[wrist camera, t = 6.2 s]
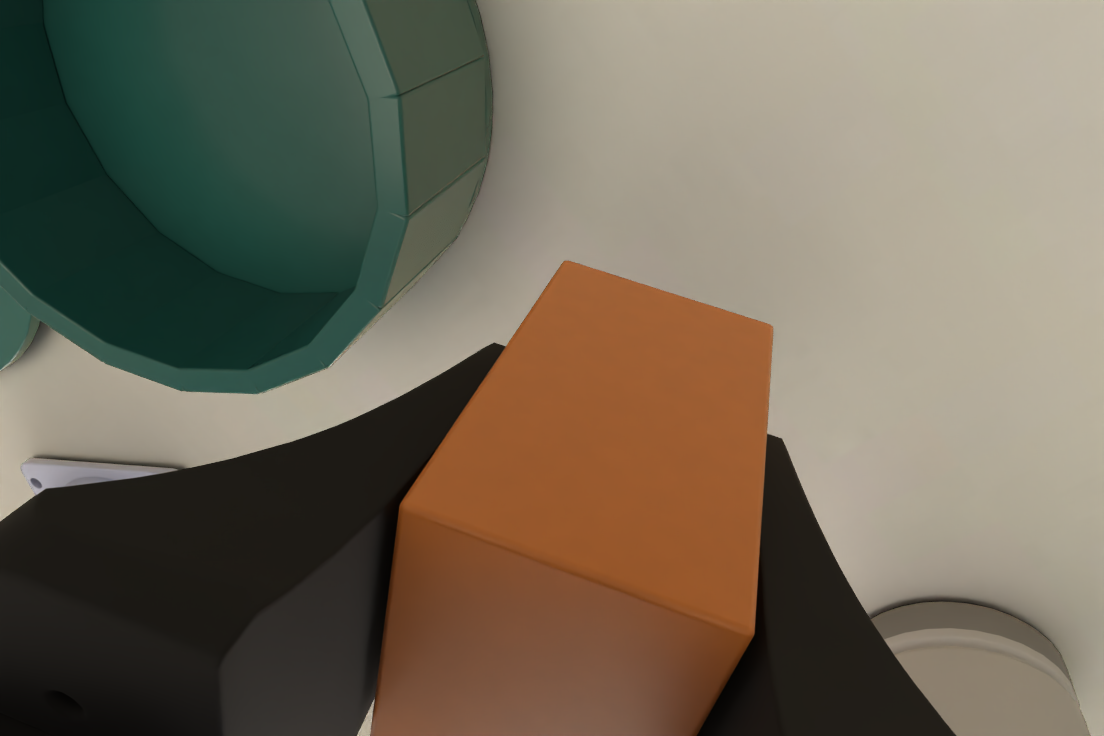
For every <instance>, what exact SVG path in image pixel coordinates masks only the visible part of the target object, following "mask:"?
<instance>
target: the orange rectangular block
mask: <svg viewBox="0 0 1104 736" xmlns="http://www.w3.org/2000/svg"><path fill="white" fill-rule="evenodd" d="M772 345H773V326H771V325H770V324H767V323H764V322H761V321H758V320H755V319H751V318H748V317H745V316H742V315H739V314H736V313H732V312H729V311H726V310H723V309H720V308H717V307H713V306H710V305H707V304H704V303H701V302H698V301H695V300H691V299H688V298H685V297H682V296H679V295H676V294H672V293H669V292H666V291H663V290H660V289H657V288H653V287H650V286H647V285H644V284H641V283H638V282H635V281H631V280H628V279H625V278H622V277H619V276H616V275H612V274H609V273H606V272H603V271H600V270H597V269H593V268H590V267H587V266H584V265H581V264H578V263H575V262H571V261H564V262H563V263H562V264H561V266H560V267H559V269H558V270H557V272H556V273H555V275H554V276H553V277H552V279H551V280H550V282H549V283H548V285H547V286H546V288H545V289H544V291H543V292H542V294H541V295H540V297H539V298H538V300H537V301H536V303H535V304H534V306H533V307H532V309H531V310H530V312H529V313H528V315H527V316H526V318H525V319H524V320H523V322H522V323H521V325H520V326H519V328H518V329H517V331H516V332H515V334H514V335H513V337H512V338H511V340H510V341H509V343H508V344H507V346H506V347H505V349H504V350H503V352H502V353H501V355H500V356H499V358H498V359H497V361H496V362H495V364H494V365H493V366H492V368H491V369H490V371H489V372H488V374H487V375H486V377H485V378H484V380H483V381H482V383H481V384H480V386H479V387H478V389H477V390H476V392H475V393H474V395H473V396H472V398H471V399H470V401H469V402H468V404H467V405H466V407H465V408H464V410H463V411H462V412H461V414H460V415H459V417H458V418H457V420H456V421H455V423H454V424H453V426H452V427H451V429H450V430H449V432H448V433H447V435H446V436H445V438H444V439H443V441H442V442H441V444H440V445H439V447H438V448H437V450H436V451H435V453H434V454H433V456H432V457H431V458H430V460H429V461H428V463H427V464H426V466H425V467H424V469H423V470H422V472H421V473H420V475H419V476H418V478H417V479H416V481H415V482H414V484H413V485H412V487H411V488H410V490H409V491H408V493H407V494H406V496H405V497H404V499H403V500H402V501H401V503H400V505H399V513H398V521H397V529H396V537H395V545H394V552H393V560H392V568H391V576H390V584H389V592H388V600H387V607H386V615H385V623H384V631H383V639H382V647H381V654H380V662H379V670H378V678H377V686H376V694H375V702H374V709H373V717H372V725H371V733H370V736H697V734H698V733H699V731H700V729H701V727H702V726H703V724H704V722H705V720H706V719H707V717H708V715H709V713H710V712H711V710H712V708H713V706H714V705H715V703H716V701H717V699H718V698H719V696H720V694H721V692H722V691H723V689H724V687H725V685H726V684H727V682H728V680H729V678H730V677H731V675H732V673H733V671H734V670H735V668H736V666H737V664H738V663H739V661H740V659H741V657H742V656H743V654H744V652H745V650H746V649H747V647H748V645H749V643H750V642H751V640H752V638H753V636H754V635H755V620H756V603H757V587H758V571H759V555H760V539H761V523H762V506H763V490H764V474H765V458H766V442H767V425H768V409H769V393H770V377H771V361H772Z"/></svg>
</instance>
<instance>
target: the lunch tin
mask: <svg viewBox="0 0 1104 736" xmlns="http://www.w3.org/2000/svg"><path fill="white" fill-rule="evenodd" d="M491 131H492V83H491V73H490V63H489V54H488V49H487V45H486V40H485V36H484V31H483V26H482V22H481V17H480V13H479V10H478V7H477V4H476V2H475V0H0V286H1V287H2V288H3V289H4V290H5V291H6V292H7V293H8V294H9V295H10V296H11V297H12V298H13V299H14V300H15V301H16V302H17V303H18V304H19V305H20V306H21V307H22V308H23V309H25V310H26V311H27V312H28V313H29V314H31V315H32V316H34V317H35V318H37V319H38V320H40V321H41V322H43V323H44V324H46V325H47V326H49V327H50V328H52V329H53V330H55V331H56V332H58V333H59V334H61V335H62V336H64V337H65V338H67V339H68V340H70V341H71V342H73V343H74V344H76V345H77V346H79V347H81V348H82V349H84V350H85V351H87V352H88V353H90V354H91V355H93V356H94V357H96V358H97V359H99V360H100V361H102V362H104V363H105V364H108V365H110V366H113V367H116V368H119V369H121V370H124V371H127V372H130V373H133V374H135V375H138V376H141V377H144V378H146V379H149V380H152V381H155V382H158V383H160V384H163V385H166V386H169V387H171V388H174V389H177V390H180V391H187V392H215V393H242V394H259V393H265V392H267V391H270V390H273V389H275V388H278V387H280V386H283V385H286V384H288V383H291V382H293V381H296V380H299V379H301V378H304V377H306V376H309V375H312V374H314V373H317V372H319V371H322V370H325V369H327V368H328V367H331V366H332V365H333V364H334V363H335V362H336V361H337V360H338V359H339V358H340V357H341V356H342V355H343V354H344V353H345V352H346V351H347V350H348V349H349V348H350V347H351V346H352V345H353V344H354V343H355V342H357V341H358V340H359V339H360V338H361V337H362V336H363V335H364V334H365V333H366V332H367V331H368V330H369V329H370V328H371V327H372V326H373V325H374V324H375V323H376V322H377V321H378V320H379V319H380V318H381V317H382V316H383V315H384V314H385V313H386V312H387V311H388V310H389V309H390V308H391V307H392V306H393V305H394V304H396V303H397V302H398V301H399V300H400V299H401V298H402V297H403V296H404V295H405V294H406V293H407V292H408V291H409V290H410V289H411V288H412V287H413V286H414V285H415V284H416V282H417V281H418V280H419V279H420V278H421V277H422V276H423V275H424V274H425V273H426V272H427V270H428V269H429V268H430V267H431V266H432V265H433V264H434V263H435V262H436V261H437V260H438V259H439V258H440V256H441V255H442V254H443V253H444V252H445V251H446V250H447V249H448V247H449V246H450V245H451V244H452V243H453V242H454V241H455V240H456V239H457V237H458V235H459V233H460V230H461V228H462V226H463V225H464V223H465V222H466V220H467V218H468V216H469V213H470V211H471V209H472V207H473V204H474V202H475V200H476V197H477V195H478V193H479V190H480V186H481V182H482V179H483V175H484V172H485V168H486V164H487V160H488V153H489V145H490V138H491Z"/></svg>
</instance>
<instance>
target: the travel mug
mask: <svg viewBox="0 0 1104 736" xmlns="http://www.w3.org/2000/svg"><path fill="white" fill-rule="evenodd" d="M870 620H871V621H872V623H873V624H874V625H875V627H876V628H877V630H878V631H879V633H880V634H881V636H882V637H883V639H884V640H885V642H886V643H887V645H888V646H889V648H890V649H891V651H892V652H893V654H894V655H895V657H896V658H897V660H898V661H899V662H900V664H901V665H902V667H903V668H904V669H905V671H906V672H907V673H908V675H909V676H910V677H911V679H912V680H913V682H914V683H915V684H916V685H917V687H918V688H919V689H920V690H921V692H922V693H923V694H924V696H925V697H926V698H927V699H928V701H929V702H930V703H931V704H932V706H933V707H934V708H935V710H936V711H937V712H938V713H939V715H940V716H941V717H942V718H943V720H944V721H945V722H946V724H947V725H948V726H949V727H950V728H951V730H952V731H953V732H954V733H955V734H956V736H1091V735H1090V732H1089V730H1088V727H1087V724H1086V721H1085V719H1084V716H1083V714H1082V712H1081V710H1080V704H1079V701H1078V698H1077V696H1076V693H1075V690H1074V687H1073V684H1072V682H1071V679H1070V676H1069V673H1068V670H1067V668H1066V665H1065V663H1064V661H1063V659H1062V656H1061V654H1060V653H1059V652H1058V650H1057V649H1056V648H1055V647H1054V646H1053V644H1052V643H1051V642H1050V641H1049V640H1048V639H1047V638H1046V637H1044V636H1043V635H1042V634H1041V633H1039V632H1038V631H1037V630H1036V629H1034V628H1033V627H1031V626H1030V625H1028V624H1026V623H1024V622H1022V621H1021V620H1019V619H1017V618H1015V617H1013V616H1011V615H1008V614H1005V613H1003V612H1000V611H997V610H994V609H992V608H987V607H983V606H978V605H973V604H968V603H957V602H924V603H917V604H912V605H906V606H901V607H898V608H895V609H892V610H889V611H886V612H883V613H881V614H879V615H878V616H876V617H874V618H872V619H870Z"/></svg>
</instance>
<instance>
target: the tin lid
mask: <svg viewBox="0 0 1104 736" xmlns="http://www.w3.org/2000/svg"><path fill="white" fill-rule="evenodd" d="M39 323H40V320H38V319H37V318H35V317H34V316H32V315H31V314H29V313H28V312H27V311H26V310H25V309H23V308H22V307H21V306H20V305H19V304H18V303H17V302H16V301H15V300H14V299H13V298H12V297H11V296H10V295H9V294H8V293H7V292H6V291H5V290H4V289H3V288H2V287H1V286H0V371H1V370H3V369H5V368H6V367H8V366H10V365H11V364H12V363H14V362H15V361H16V360H17V359H19V358H20V357H21V356H22V355H23V353H24V352H25V351H26V350H27V348H28V347H29V346H30V344H31V343H32V341H33V338H34V336H35V334H36V332H37V330H38V327H39Z"/></svg>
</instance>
